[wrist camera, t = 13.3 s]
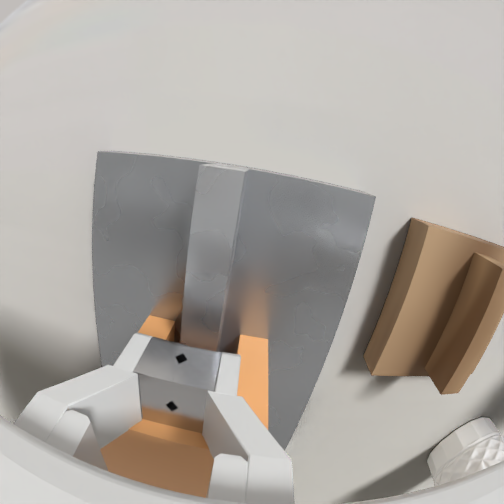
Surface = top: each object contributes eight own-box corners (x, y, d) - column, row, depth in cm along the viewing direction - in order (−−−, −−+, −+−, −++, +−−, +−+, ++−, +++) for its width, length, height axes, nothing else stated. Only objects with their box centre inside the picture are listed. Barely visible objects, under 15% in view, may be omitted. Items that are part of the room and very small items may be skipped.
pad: (507, 248, 11) (549, 271, 8) (460, 359, 13) (487, 395, 10) (411, 217, 11) (457, 240, 8) (363, 356, 13) (383, 405, 10)
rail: (362, 191, 11) (416, 213, 7) (246, 507, 19) (243, 545, 15) (116, 151, 11) (46, 154, 6) (141, 486, 19) (130, 522, 15)
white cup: (403, 468, 17) (430, 558, 8) (469, 407, 15) (522, 501, 5) (450, 466, 18) (478, 536, 8) (506, 413, 16) (548, 483, 6)
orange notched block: (149, 314, 11) (86, 413, 6) (268, 339, 11) (267, 457, 6) (151, 397, 13) (114, 485, 8) (246, 417, 13) (238, 514, 8)
